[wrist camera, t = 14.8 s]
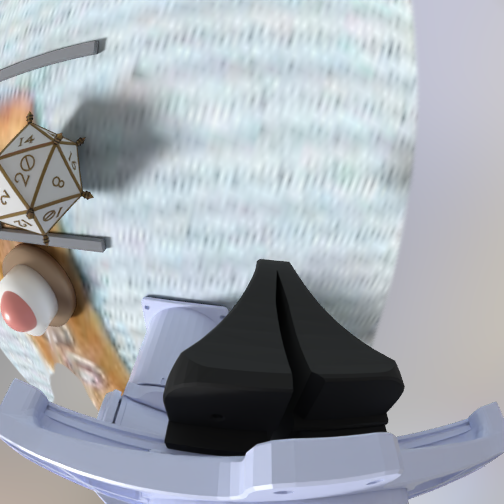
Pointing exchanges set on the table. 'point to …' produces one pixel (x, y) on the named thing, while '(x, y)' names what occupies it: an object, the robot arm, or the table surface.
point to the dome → (27, 301)
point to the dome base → (45, 277)
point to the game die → (39, 179)
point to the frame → (26, 66)
